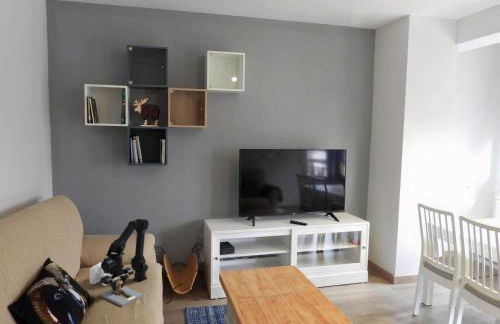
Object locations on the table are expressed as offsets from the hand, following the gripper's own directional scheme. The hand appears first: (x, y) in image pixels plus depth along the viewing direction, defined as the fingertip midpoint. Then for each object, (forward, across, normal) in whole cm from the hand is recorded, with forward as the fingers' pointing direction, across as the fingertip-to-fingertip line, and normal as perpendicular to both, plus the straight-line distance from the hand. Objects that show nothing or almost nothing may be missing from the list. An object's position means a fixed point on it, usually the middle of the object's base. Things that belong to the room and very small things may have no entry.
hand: (117, 289), depth 204 cm
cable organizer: (+3, -5, -21) cm, 22 cm away
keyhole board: (+3, 0, +4) cm, 5 cm away
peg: (+2, 0, 0) cm, 3 cm away
